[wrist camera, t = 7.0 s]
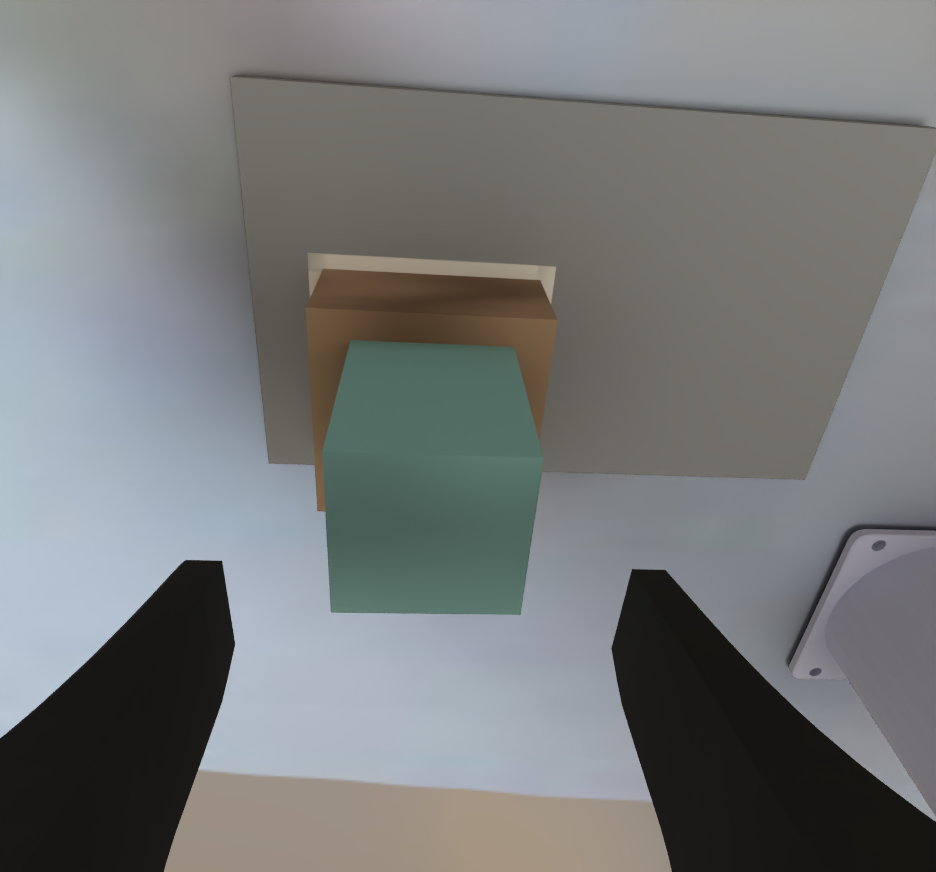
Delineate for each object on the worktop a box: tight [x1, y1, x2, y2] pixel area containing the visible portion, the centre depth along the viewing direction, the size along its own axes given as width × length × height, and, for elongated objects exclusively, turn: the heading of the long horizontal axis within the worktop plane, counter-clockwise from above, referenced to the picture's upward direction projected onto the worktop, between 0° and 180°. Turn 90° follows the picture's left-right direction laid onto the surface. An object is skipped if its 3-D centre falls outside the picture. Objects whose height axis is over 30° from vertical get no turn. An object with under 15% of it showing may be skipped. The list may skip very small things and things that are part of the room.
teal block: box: [322, 340, 544, 615], centre depth 15 cm, size 4×4×5 cm
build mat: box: [230, 75, 936, 480], centre depth 20 cm, size 18×11×1 cm, turn 86°
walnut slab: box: [306, 269, 558, 511], centre depth 19 cm, size 6×6×3 cm
